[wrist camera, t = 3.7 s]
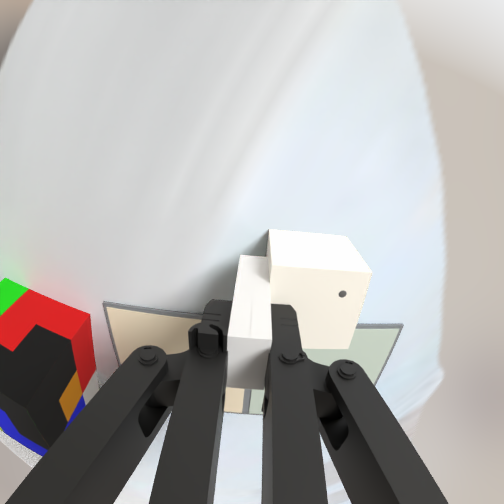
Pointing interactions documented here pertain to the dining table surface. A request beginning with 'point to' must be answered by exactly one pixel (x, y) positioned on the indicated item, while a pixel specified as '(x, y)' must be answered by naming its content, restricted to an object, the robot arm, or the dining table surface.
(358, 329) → the board
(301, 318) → the die
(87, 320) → the puzzle toy
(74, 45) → the dining table surface
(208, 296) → the dining table surface
